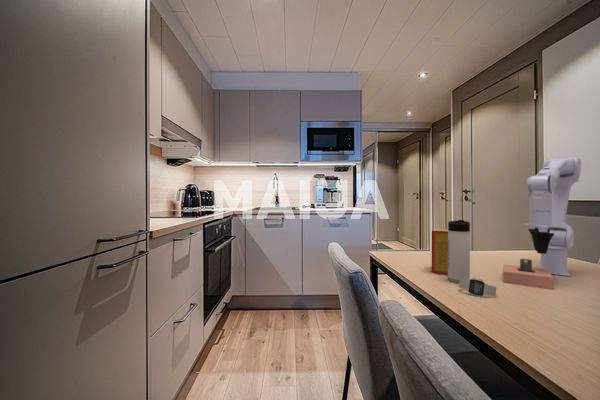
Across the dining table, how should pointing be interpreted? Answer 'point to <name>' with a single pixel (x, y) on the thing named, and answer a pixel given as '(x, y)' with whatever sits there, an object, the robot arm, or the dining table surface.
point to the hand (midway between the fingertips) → (540, 251)
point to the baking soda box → (440, 251)
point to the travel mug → (458, 250)
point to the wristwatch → (477, 287)
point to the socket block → (528, 276)
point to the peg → (526, 265)
